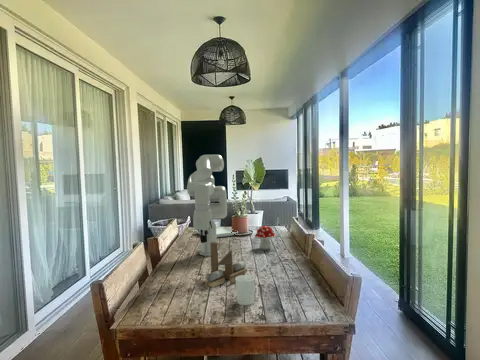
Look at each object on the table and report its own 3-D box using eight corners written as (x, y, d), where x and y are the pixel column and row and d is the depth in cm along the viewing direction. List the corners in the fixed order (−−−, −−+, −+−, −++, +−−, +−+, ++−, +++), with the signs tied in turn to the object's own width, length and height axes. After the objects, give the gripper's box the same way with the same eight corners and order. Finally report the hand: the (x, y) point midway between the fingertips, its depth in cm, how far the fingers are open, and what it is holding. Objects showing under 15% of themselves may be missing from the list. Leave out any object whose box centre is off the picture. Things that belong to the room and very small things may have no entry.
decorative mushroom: (251, 250, 225) (251, 227, 225) (258, 245, 238) (258, 223, 237) (272, 251, 220) (272, 228, 219) (278, 246, 233) (278, 224, 232)
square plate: (206, 240, 259) (206, 235, 259) (193, 234, 283) (193, 229, 283) (239, 236, 272) (238, 231, 271) (224, 230, 296) (224, 225, 296)
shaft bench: (205, 285, 164) (204, 273, 163) (239, 270, 184) (239, 260, 184) (220, 289, 158) (220, 277, 157) (254, 273, 178) (254, 263, 178)
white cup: (235, 298, 146) (234, 275, 146) (254, 297, 147) (253, 274, 146) (236, 306, 139) (236, 281, 138) (256, 305, 139) (255, 280, 139)
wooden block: (232, 279, 171) (231, 242, 170) (210, 279, 171) (209, 243, 170) (232, 276, 175) (231, 241, 174) (211, 277, 175) (210, 241, 174)
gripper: (187, 207, 182) (188, 241, 183) (208, 209, 173) (209, 246, 174) (197, 205, 188) (198, 238, 189) (218, 207, 178) (219, 242, 180)
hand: (203, 242), depth 182 cm, fingers closed
